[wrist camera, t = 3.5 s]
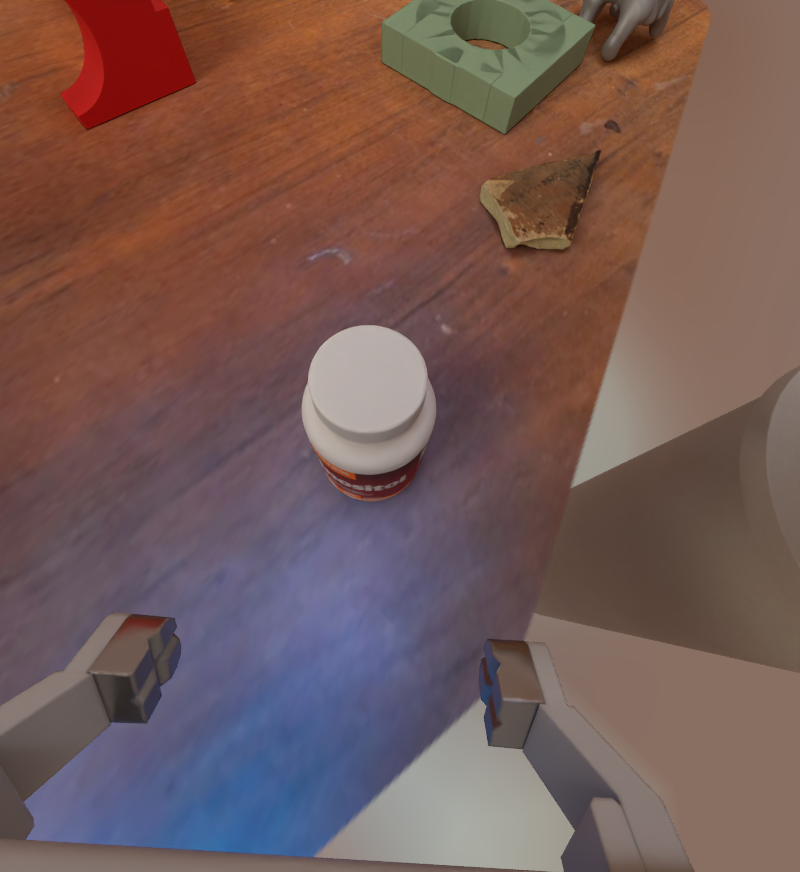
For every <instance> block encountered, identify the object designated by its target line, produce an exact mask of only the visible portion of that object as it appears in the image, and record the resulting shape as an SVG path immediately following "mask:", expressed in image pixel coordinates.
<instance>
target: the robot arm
mask: <svg viewBox="0 0 800 872" xmlns="http://www.w3.org/2000/svg"><path fill="white" fill-rule="evenodd" d="M176 628H177V625H176V621H175V618H170V617H160V616H149V615H139V614H128V613H115V612H113V613H111V614H110V615H108V616H107V617H106V618H105V619H104V620H103V621H102V623H101V624H100V625H99V626H98V628H97V629H96V630H95V631H94V633H93V634H92V635H91V637H90V638H89V639H88V640H87V642H86V643H85V644H84V645H83V647H82V648H81V649H80V650H79V652H78V653H77V654H76V655H75V657H74V658H73V659H72V660H71V662H70V663H69V664H68V665H67V667H66V668H65V669H64V671H56V672H55V673H53V674H51V675H50V676H48V677H46V678H45V679H43V680H42V681H40V682H38V683H37V684H35V685H34V686H32V687H30V688H29V689H27V690H25V691H24V692H22V693H21V694H19V695H17V696H16V697H14V698H13V699H11V700H9V701H8V702H6V703H4V704H3V705H1V706H0V872H544V871H529V870H513V869H496V868H480V867H464V866H447V865H431V864H415V863H398V862H397V863H396V862H382V861H365V860H349V859H333V858H316V857H300V856H284V855H267V854H251V853H234V852H218V851H202V850H185V849H168V848H152V847H135V846H119V845H102V844H86V843H69V842H52V841H36V840H26V838H27V837H28V835H29V833H30V832H31V830H32V829H33V827H34V818H33V816H32V815H31V813H30V812H29V810H28V808H27V807H26V805H25V804H24V801H25V800H26V799H27V798H28V797H30V796H31V795H32V794H33V793H34V792H35V791H36V790H37V789H39V788H40V787H41V786H42V785H43V784H44V783H45V782H46V781H48V780H49V779H50V778H51V777H52V776H53V775H54V774H56V773H57V772H58V771H59V770H60V769H61V768H62V767H63V766H65V765H66V764H67V763H68V762H69V761H70V760H71V759H72V758H74V757H75V756H76V755H77V754H78V753H79V752H80V751H81V750H83V749H84V748H85V747H86V746H87V745H88V744H89V743H91V742H92V741H93V740H94V739H95V738H96V737H97V736H98V735H100V734H101V733H102V732H103V731H104V730H105V729H106V728H107V727H109V726H110V725H111V723H110V722H117V723H146V724H147V722H148V720H149V719H150V717H151V715H152V713H153V711H154V709H155V707H156V706H157V704H158V702H159V700H160V698H161V696H162V694H161V688H160V686H162V685H163V684H164V683H166V682H167V681H168V680H169V679H171V678H172V676H173V674H174V672H175V670H176V668H177V665H178V662H179V658H180V655H181V642H180V639H179V638H178V637H177V636H176V635H175V634H174V631H175V630H176ZM484 652H485V657H484V658H483V659H481V663H480V668H479V689H480V696H481V700H482V701H483V702H484V703H485V705H486V706H487V707H486V711H485V715H484V722H485V728H486V734H487V740H488V746H494V747H504V748H516V749H523V753H524V754H525V756H526V757H527V759H528V760H529V762H530V763H531V765H532V766H533V768H534V769H535V771H536V772H537V774H538V775H539V777H540V778H541V780H542V781H543V783H544V784H545V786H546V787H547V789H548V790H549V792H550V793H551V795H552V796H553V798H554V799H555V801H556V802H557V804H558V805H559V807H560V808H561V810H562V811H563V813H564V814H565V816H566V818H567V819H568V820H569V822H570V824H571V825H572V827H573V828H574V830H575V832H574V834H573V836H572V838H571V839H570V841H569V843H568V845H567V847H566V849H565V851H564V853H563V854H562V856H561V859H562V864H563V868H564V872H694V870H693V868H692V865H691V863H690V861H689V859H688V857H687V854H686V852H685V850H684V848H683V845H682V843H681V841H680V839H679V836H678V834H677V832H676V830H675V827H674V825H673V823H672V821H671V818H670V816H669V814H668V812H667V810H666V807H665V805H664V803H663V801H662V799H661V798H660V797H659V796H658V795H657V794H656V793H655V792H654V791H653V790H652V789H651V788H650V786H649V785H648V784H647V783H646V782H645V781H644V780H643V779H642V778H641V777H640V776H639V775H638V774H637V773H636V772H635V771H634V769H633V768H632V767H631V766H630V765H629V764H628V763H627V762H626V761H625V760H624V759H623V758H622V757H621V756H620V755H619V754H618V753H617V751H616V750H615V749H614V748H613V747H612V746H611V745H610V744H609V743H608V742H607V741H606V740H605V739H604V738H603V737H602V736H601V734H600V733H599V732H598V731H596V729H595V728H594V727H593V726H592V725H591V724H590V723H589V722H588V721H587V720H586V719H585V718H584V716H583V715H582V714H581V713H580V712H579V711H578V710H577V709H576V708H575V707H574V706H568V705H567V702H566V698H565V696H564V693H563V690H562V687H561V684H560V681H559V678H558V675H557V672H556V669H555V667H554V663H553V661H552V658H551V655H550V652H549V649H548V647H547V645H546V644H545V643H541V642H524V641H516V640H498V639H487V641H486V642H485V646H484ZM545 872H546V871H545Z"/></svg>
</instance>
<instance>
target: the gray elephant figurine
mask: <svg viewBox="0 0 800 872" xmlns="http://www.w3.org/2000/svg"><path fill="white" fill-rule="evenodd" d="M606 3H611V5H610V7H609V13H610V15H611V16H612V17H614V18H619V19H618V22H617V24H616V26H615V28H614V30H613V32H612V34H611V35H610V36H609V38H608V39H607V40H606V41H605V43H604V45H603V47H602V51H601V54H602V57H603V59H604V60H606V61H610V60H612V59H614V58H615V57H616V55H617V54H618V52H619V50H620V48H621V46H622V44H623V43H624V41H625V40H626V39H627V37H628V36H629V35H630V33H631V32H632V31H635V29H636V26H637V25H644V26H648V25H649V34H650V36H651V37H653V38H655V37H657V36H659V35H660V34H661V32H662V31H663V29H664V27H665V25H666V23H667V21H668V18H669V14H670V10H671V7H672V5H673V3H674V0H583V4H582V7H581V11H580V14H579V17H581V18H583V19H585V20H587V21H589V22H591V23H593V22H594V21H595V19H596V18H597V16H598V15H599V13H600V12H601V10H602V9H603V7H604V6H605V5H606Z"/></svg>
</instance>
